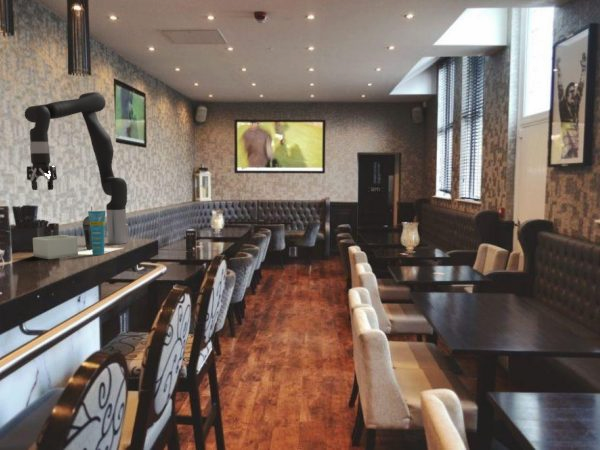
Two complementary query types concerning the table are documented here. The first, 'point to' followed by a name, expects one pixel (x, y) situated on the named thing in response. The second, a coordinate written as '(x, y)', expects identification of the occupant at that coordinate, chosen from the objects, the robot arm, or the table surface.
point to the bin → (55, 246)
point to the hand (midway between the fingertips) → (42, 189)
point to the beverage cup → (87, 232)
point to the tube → (97, 231)
